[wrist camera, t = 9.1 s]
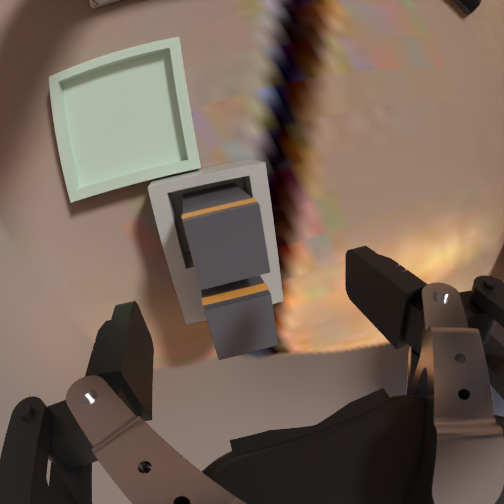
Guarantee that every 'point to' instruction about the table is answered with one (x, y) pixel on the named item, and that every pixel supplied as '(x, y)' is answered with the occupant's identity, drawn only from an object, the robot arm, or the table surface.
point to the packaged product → (100, 3)
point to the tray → (123, 119)
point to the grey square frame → (231, 294)
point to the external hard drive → (468, 5)
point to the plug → (224, 235)
